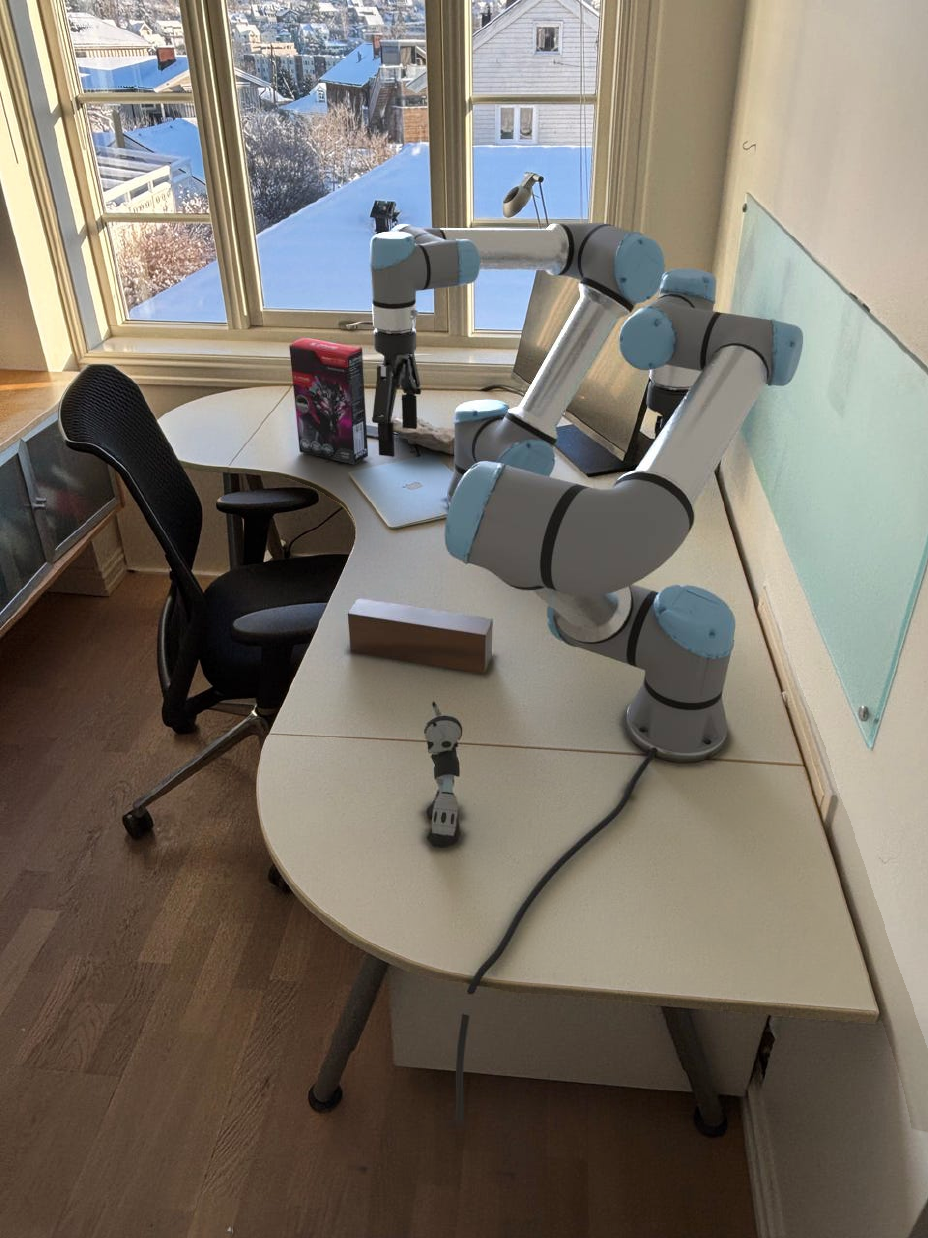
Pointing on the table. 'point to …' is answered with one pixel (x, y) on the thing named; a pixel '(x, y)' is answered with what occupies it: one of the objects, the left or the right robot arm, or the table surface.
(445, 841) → the robot
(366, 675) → the table surface
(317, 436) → the graphics card box
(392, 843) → the table surface
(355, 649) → the brown rectangular block
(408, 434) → the stone
